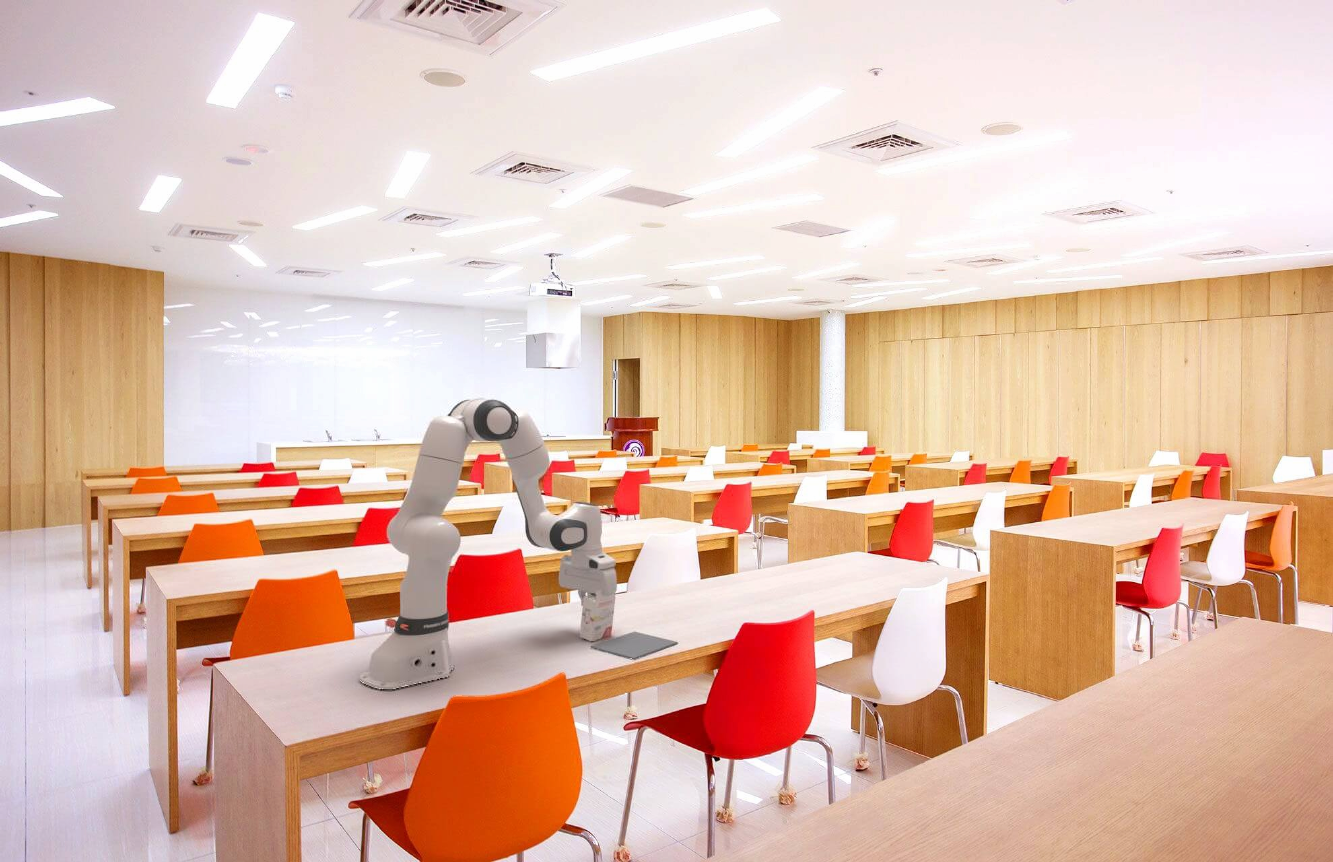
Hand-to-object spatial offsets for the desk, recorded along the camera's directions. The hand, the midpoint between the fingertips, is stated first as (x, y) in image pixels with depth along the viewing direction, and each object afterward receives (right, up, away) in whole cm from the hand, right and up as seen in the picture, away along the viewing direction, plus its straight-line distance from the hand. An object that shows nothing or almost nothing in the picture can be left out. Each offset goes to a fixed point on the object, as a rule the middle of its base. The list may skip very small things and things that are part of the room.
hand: (587, 606), depth 232 cm
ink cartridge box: (+2, -8, -2) cm, 9 cm away
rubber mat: (+14, -9, -10) cm, 19 cm away
